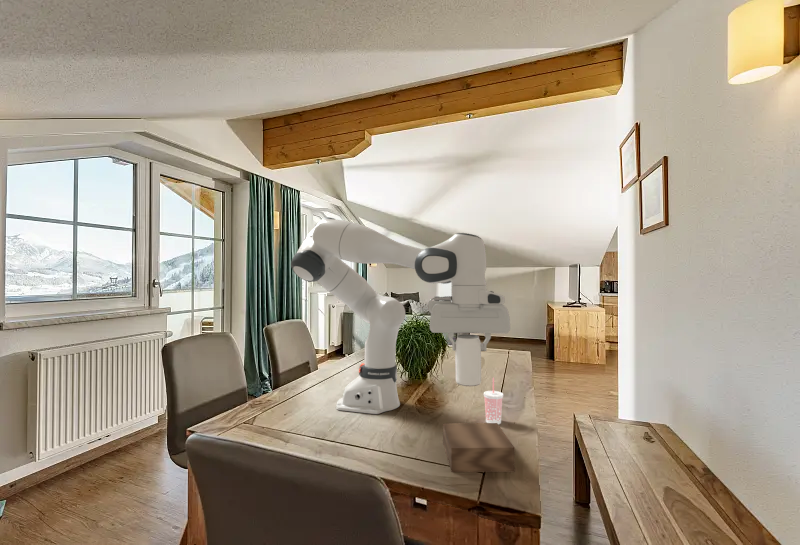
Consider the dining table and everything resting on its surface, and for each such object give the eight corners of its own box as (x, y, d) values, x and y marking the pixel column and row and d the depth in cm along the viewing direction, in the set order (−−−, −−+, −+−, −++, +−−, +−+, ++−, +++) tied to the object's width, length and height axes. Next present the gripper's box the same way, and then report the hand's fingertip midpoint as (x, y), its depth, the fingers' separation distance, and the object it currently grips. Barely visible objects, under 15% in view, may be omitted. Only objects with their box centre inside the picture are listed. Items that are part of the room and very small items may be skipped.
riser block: (451, 473, 90) (451, 448, 90) (443, 445, 105) (443, 423, 105) (514, 473, 90) (514, 447, 90) (497, 444, 105) (497, 423, 105)
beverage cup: (499, 417, 124) (499, 374, 124) (506, 425, 118) (506, 379, 118) (480, 418, 124) (480, 375, 124) (487, 426, 118) (487, 380, 118)
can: (480, 387, 94) (479, 338, 94) (453, 385, 95) (453, 337, 96) (482, 380, 100) (481, 334, 100) (457, 378, 102) (457, 333, 102)
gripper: (427, 297, 96) (428, 352, 96) (511, 297, 94) (511, 353, 93) (428, 295, 102) (429, 347, 102) (507, 295, 100) (507, 348, 100)
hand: (469, 350), depth 98 cm, fingers closed on can, 6 cm apart
